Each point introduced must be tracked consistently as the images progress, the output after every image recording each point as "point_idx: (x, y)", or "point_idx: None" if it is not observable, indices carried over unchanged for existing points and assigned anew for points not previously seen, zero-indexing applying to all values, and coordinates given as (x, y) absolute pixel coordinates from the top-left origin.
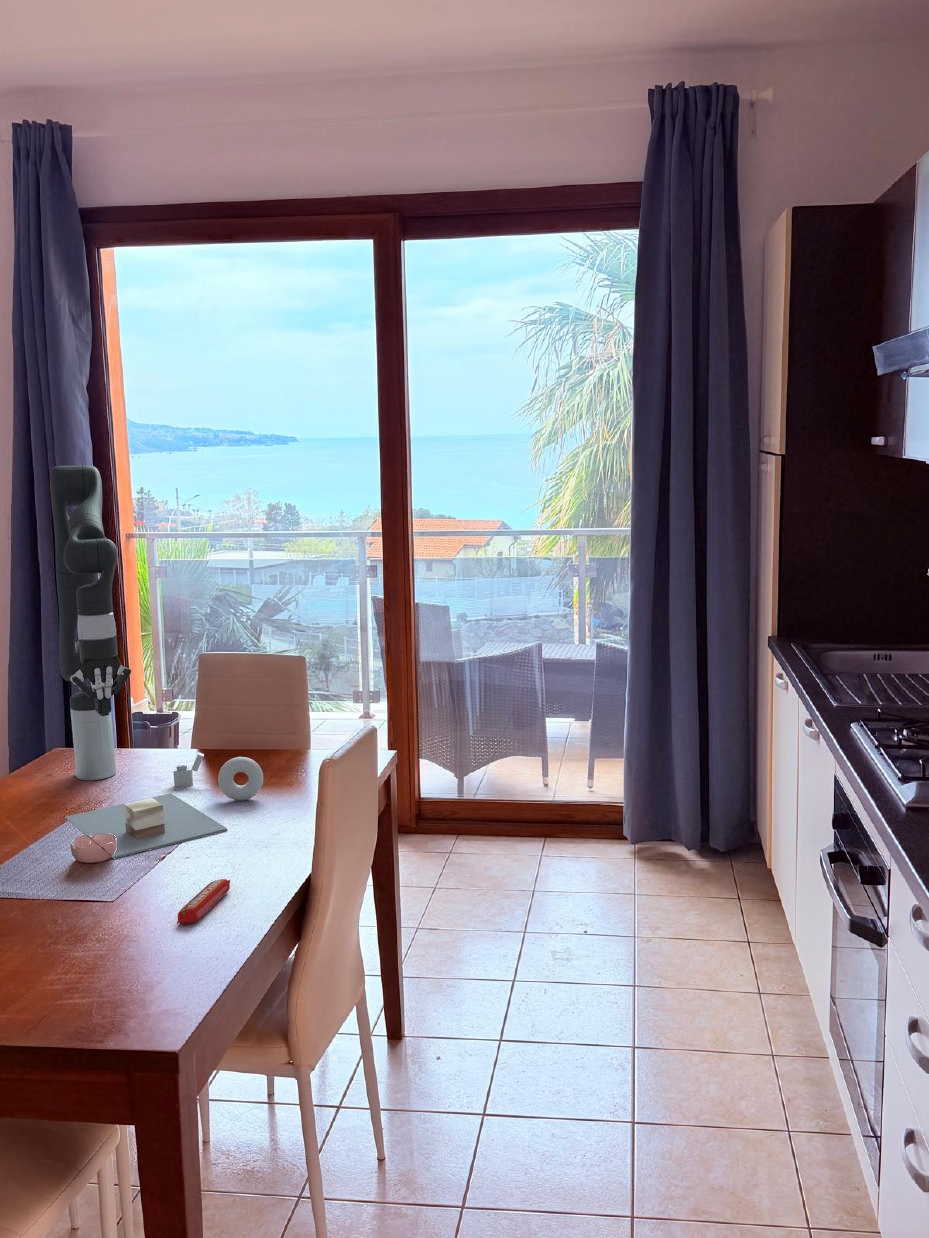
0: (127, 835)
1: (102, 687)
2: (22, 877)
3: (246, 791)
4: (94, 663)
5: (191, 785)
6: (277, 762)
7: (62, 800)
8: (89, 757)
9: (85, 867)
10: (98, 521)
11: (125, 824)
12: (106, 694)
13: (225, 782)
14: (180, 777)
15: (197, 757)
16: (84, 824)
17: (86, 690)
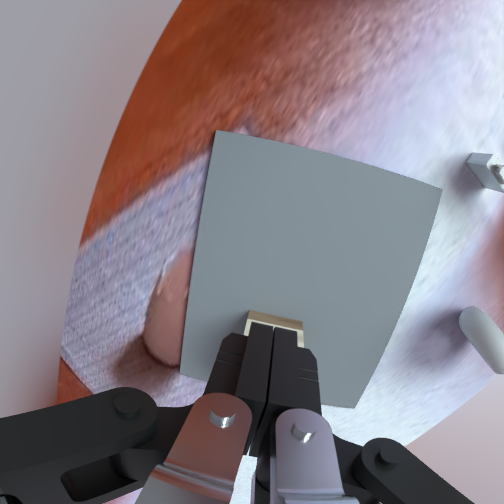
0: (241, 325)
1: (275, 492)
2: (76, 321)
3: (472, 343)
4: None
5: (486, 187)
6: None
7: (278, 19)
8: None
9: (142, 362)
10: None
11: (248, 316)
12: (261, 487)
13: (466, 335)
14: (485, 174)
15: None
16: (219, 208)
17: (80, 485)
